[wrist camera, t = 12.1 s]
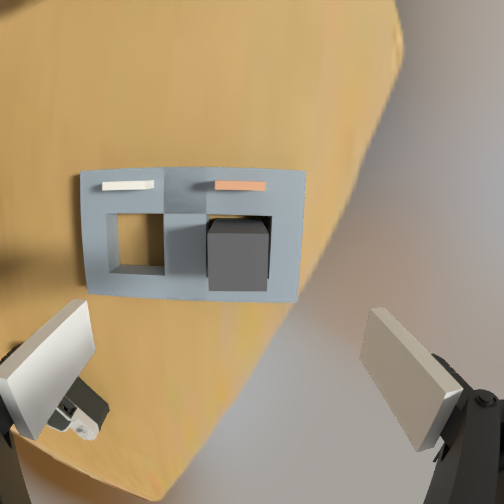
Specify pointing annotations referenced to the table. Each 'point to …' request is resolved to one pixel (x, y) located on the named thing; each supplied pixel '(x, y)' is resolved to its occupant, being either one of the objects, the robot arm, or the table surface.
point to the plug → (237, 255)
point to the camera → (80, 411)
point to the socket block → (190, 228)
